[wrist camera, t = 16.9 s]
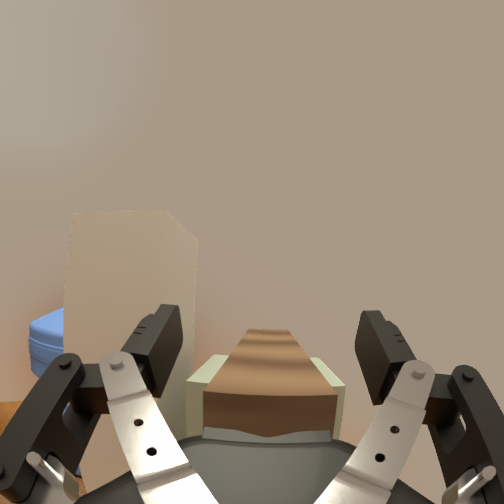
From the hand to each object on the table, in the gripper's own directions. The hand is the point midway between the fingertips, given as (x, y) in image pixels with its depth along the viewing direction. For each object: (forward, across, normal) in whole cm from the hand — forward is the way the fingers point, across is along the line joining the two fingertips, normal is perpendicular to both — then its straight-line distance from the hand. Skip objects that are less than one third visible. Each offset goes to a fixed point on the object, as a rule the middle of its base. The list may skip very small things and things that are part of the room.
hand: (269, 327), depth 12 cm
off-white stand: (-4, +11, +27) cm, 29 cm away
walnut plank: (+4, 0, +7) cm, 8 cm away
